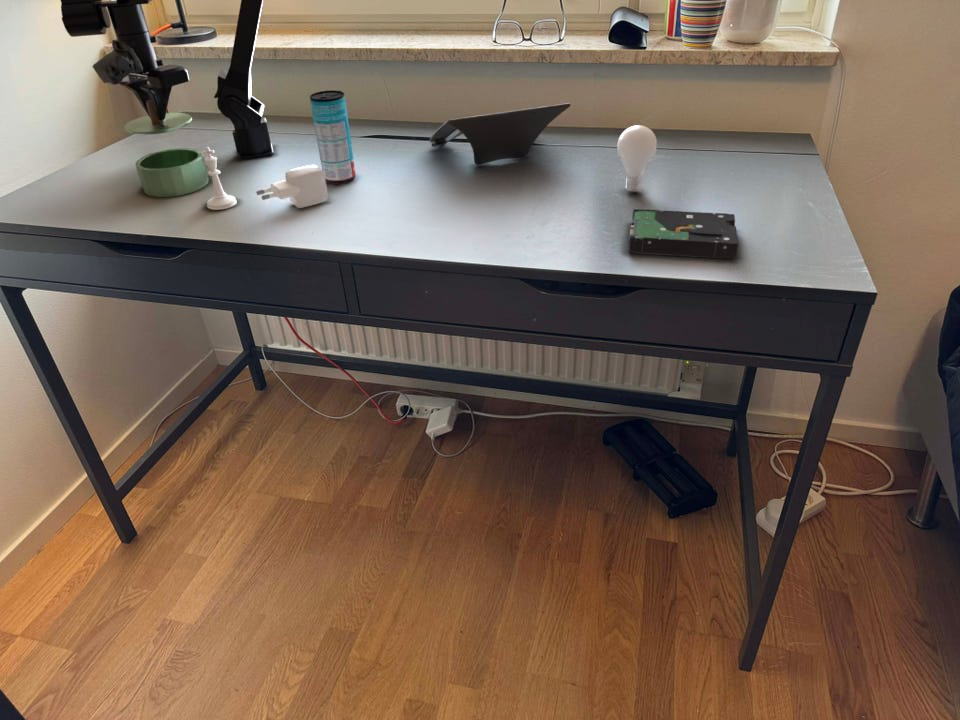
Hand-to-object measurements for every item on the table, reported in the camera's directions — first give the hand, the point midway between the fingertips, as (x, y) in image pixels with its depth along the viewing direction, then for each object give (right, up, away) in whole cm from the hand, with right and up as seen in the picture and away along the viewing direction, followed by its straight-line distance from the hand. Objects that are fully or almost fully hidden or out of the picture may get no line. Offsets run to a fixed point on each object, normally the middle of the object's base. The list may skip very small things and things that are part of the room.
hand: (157, 119), depth 140 cm
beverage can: (+37, -14, -7) cm, 40 cm away
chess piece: (+18, -20, -15) cm, 31 cm away
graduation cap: (+65, -7, +1) cm, 65 cm away
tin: (+7, -14, -7) cm, 17 cm away
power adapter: (+31, -21, -17) cm, 41 cm away
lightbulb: (+88, -18, -18) cm, 92 cm away
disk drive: (+92, -30, -34) cm, 102 cm away
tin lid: (0, -1, +1) cm, 1 cm away
